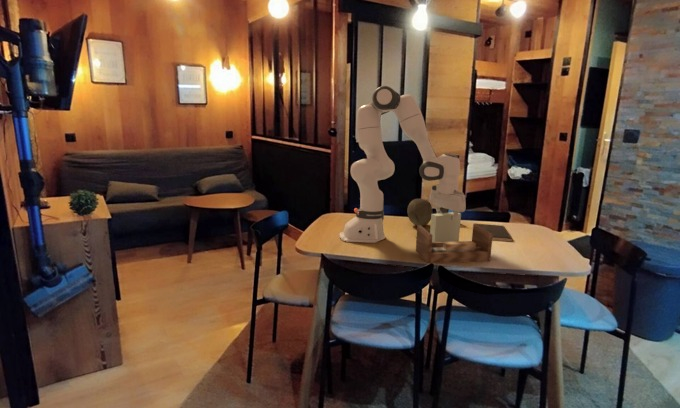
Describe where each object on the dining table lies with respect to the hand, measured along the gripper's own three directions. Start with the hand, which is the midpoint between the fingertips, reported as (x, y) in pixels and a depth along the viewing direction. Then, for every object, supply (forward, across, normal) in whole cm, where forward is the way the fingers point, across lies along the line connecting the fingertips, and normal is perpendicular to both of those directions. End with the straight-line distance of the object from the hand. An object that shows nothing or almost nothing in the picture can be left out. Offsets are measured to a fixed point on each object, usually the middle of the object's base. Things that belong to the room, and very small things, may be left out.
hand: (445, 217), depth 192 cm
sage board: (+12, 0, 0) cm, 12 cm away
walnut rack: (+12, -15, +10) cm, 22 cm away
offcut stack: (+12, -19, +13) cm, 26 cm away
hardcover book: (+13, -1, -33) cm, 36 cm away
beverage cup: (+12, +30, -28) cm, 42 cm away
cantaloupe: (+12, +28, -8) cm, 32 cm away
